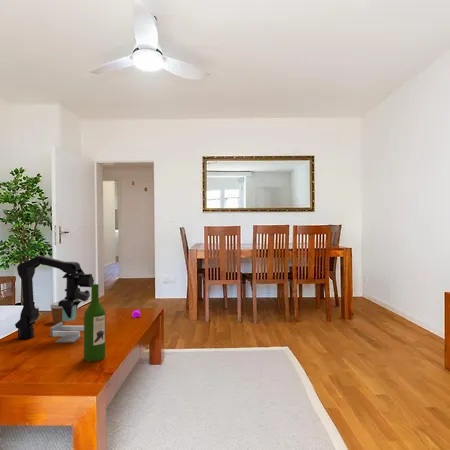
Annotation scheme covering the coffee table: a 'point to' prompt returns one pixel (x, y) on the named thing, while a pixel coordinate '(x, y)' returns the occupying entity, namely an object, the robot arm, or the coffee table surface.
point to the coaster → (68, 339)
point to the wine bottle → (94, 328)
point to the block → (73, 315)
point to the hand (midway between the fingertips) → (71, 316)
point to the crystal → (136, 313)
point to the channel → (65, 330)
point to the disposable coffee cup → (56, 313)
